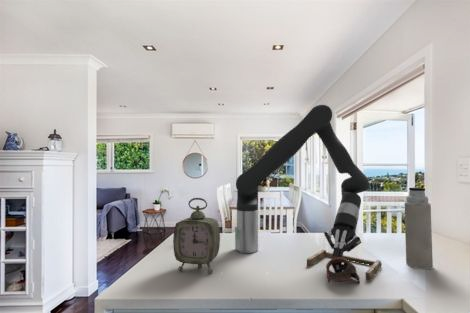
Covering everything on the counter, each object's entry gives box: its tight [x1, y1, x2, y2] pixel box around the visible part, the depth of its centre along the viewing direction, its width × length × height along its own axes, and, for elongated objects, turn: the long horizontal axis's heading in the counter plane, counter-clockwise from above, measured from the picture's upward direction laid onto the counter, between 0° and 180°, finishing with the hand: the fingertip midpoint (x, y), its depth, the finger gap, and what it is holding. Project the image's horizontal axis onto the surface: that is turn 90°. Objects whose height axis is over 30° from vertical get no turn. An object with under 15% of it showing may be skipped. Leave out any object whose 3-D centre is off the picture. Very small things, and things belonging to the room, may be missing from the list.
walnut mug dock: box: [306, 249, 383, 282], centre depth 97 cm, size 16×21×2 cm
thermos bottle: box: [403, 187, 434, 270], centre depth 99 cm, size 8×8×28 cm
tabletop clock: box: [172, 197, 221, 275], centre depth 95 cm, size 14×9×25 cm, turn 77°
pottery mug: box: [325, 257, 360, 284], centre depth 85 cm, size 12×10×8 cm
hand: (336, 260), depth 91 cm, fingers closed
